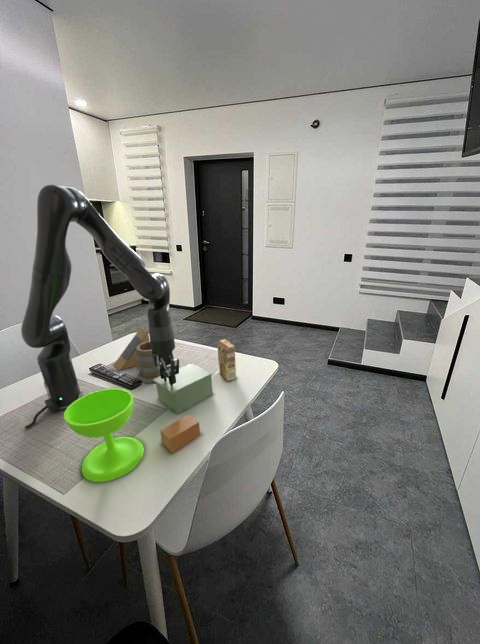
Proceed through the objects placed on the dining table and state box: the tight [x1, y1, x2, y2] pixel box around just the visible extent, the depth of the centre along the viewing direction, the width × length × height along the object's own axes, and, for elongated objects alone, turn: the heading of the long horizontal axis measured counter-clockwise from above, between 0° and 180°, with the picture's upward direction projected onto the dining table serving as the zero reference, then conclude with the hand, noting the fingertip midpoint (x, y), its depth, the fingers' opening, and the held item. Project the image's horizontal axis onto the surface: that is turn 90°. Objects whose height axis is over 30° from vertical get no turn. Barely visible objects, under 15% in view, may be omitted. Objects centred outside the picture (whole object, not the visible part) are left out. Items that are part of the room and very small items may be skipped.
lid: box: [153, 363, 212, 394], centre depth 104 cm, size 16×13×5 cm
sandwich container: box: [113, 326, 150, 371], centre depth 132 cm, size 9×15×15 cm, turn 132°
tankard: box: [135, 341, 167, 384], centre depth 124 cm, size 20×13×15 cm, turn 148°
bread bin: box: [155, 375, 214, 414], centre depth 107 cm, size 16×13×8 cm
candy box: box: [216, 338, 237, 382], centre depth 120 cm, size 9×4×15 cm, turn 33°
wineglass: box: [63, 387, 145, 483], centre depth 78 cm, size 16×16×18 cm
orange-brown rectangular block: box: [159, 414, 201, 454], centre depth 87 cm, size 10×6×5 cm, turn 138°
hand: (168, 380), depth 100 cm, fingers closed on lid, 5 cm apart
